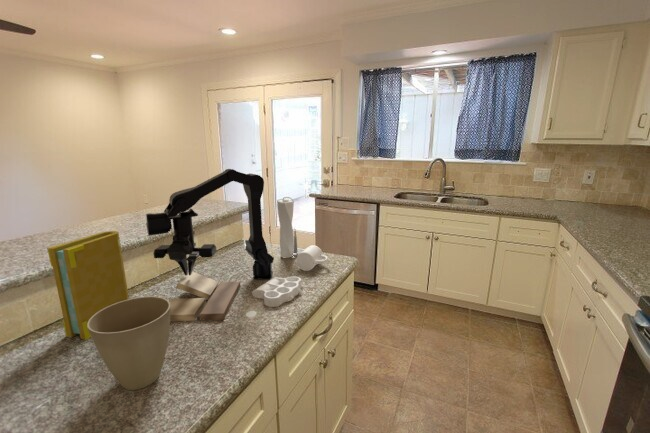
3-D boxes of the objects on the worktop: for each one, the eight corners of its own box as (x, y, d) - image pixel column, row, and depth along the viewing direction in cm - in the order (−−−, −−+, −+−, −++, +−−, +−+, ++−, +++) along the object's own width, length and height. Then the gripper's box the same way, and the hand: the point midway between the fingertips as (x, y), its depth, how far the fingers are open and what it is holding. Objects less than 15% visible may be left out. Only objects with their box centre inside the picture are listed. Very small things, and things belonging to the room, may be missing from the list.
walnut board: (240, 286, 114) (240, 281, 113) (224, 319, 92) (223, 313, 92) (219, 287, 114) (218, 281, 113) (197, 320, 92) (197, 314, 92)
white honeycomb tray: (277, 280, 120) (311, 288, 113) (246, 301, 104) (283, 311, 98) (276, 272, 119) (310, 279, 113) (245, 292, 103) (283, 301, 97)
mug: (296, 269, 129) (295, 251, 127) (306, 261, 138) (305, 244, 136) (323, 273, 125) (323, 254, 123) (331, 265, 134) (331, 247, 132)
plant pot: (188, 354, 77) (181, 295, 73) (159, 403, 63) (149, 332, 59) (126, 356, 77) (116, 296, 73) (82, 405, 62) (67, 334, 58)
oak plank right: (216, 286, 113) (218, 281, 113) (208, 300, 104) (210, 294, 103) (187, 275, 112) (189, 270, 112) (175, 287, 102) (177, 282, 102)
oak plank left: (206, 303, 102) (205, 297, 101) (195, 320, 92) (194, 314, 92) (171, 304, 101) (170, 298, 101) (156, 321, 92) (155, 315, 91)
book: (86, 339, 83) (69, 249, 78) (65, 336, 85) (47, 248, 79) (136, 307, 99) (124, 231, 94) (118, 305, 101) (105, 230, 95)
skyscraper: (295, 259, 140) (294, 197, 134) (277, 259, 141) (275, 197, 134) (297, 253, 149) (296, 194, 142) (280, 252, 149) (278, 194, 143)
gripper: (141, 238, 95) (148, 286, 99) (204, 237, 96) (208, 284, 99) (158, 228, 106) (164, 271, 109) (215, 227, 107) (218, 270, 110)
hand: (188, 274), depth 107 cm, fingers closed
